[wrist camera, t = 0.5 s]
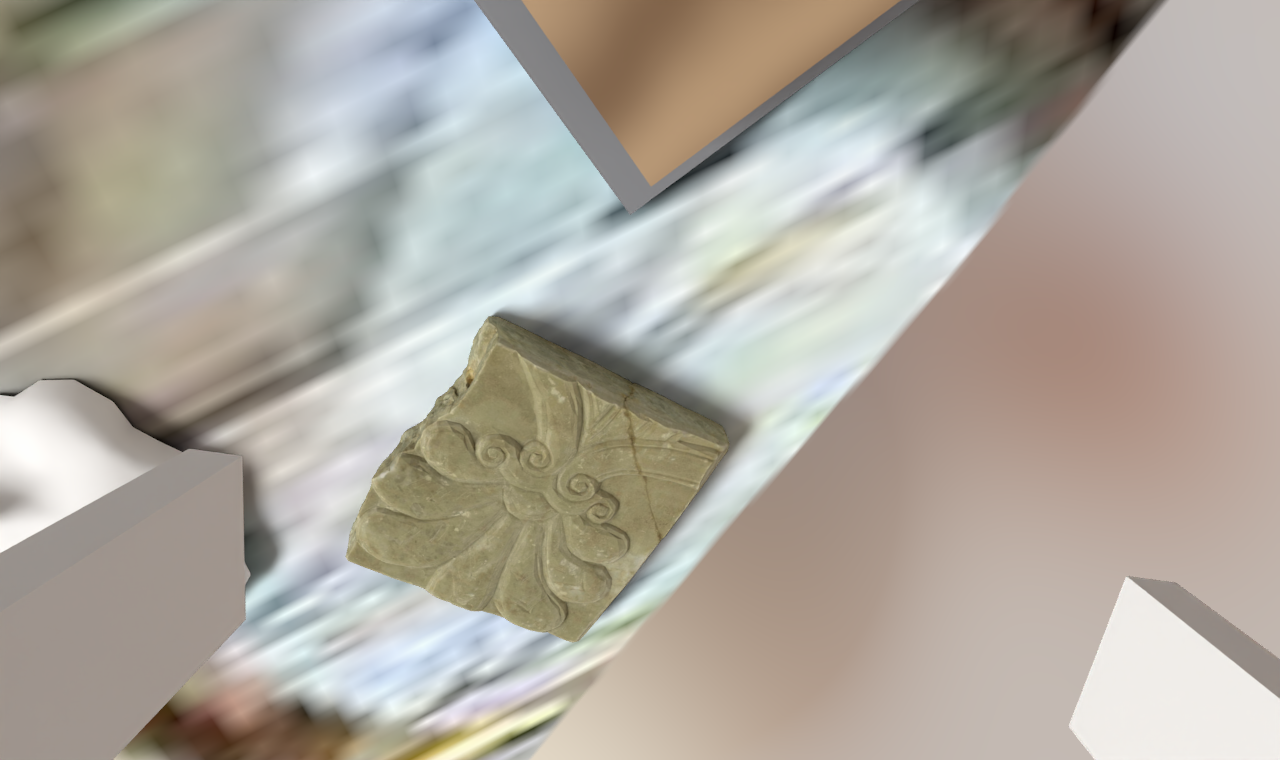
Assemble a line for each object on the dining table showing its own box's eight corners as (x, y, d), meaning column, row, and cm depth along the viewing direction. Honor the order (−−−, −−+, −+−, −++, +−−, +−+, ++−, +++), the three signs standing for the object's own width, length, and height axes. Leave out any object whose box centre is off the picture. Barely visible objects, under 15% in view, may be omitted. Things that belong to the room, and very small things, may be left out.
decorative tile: (727, 425, 45) (739, 454, 42) (576, 617, 52) (577, 655, 49) (472, 290, 39) (464, 313, 36) (339, 529, 46) (323, 566, 43)
